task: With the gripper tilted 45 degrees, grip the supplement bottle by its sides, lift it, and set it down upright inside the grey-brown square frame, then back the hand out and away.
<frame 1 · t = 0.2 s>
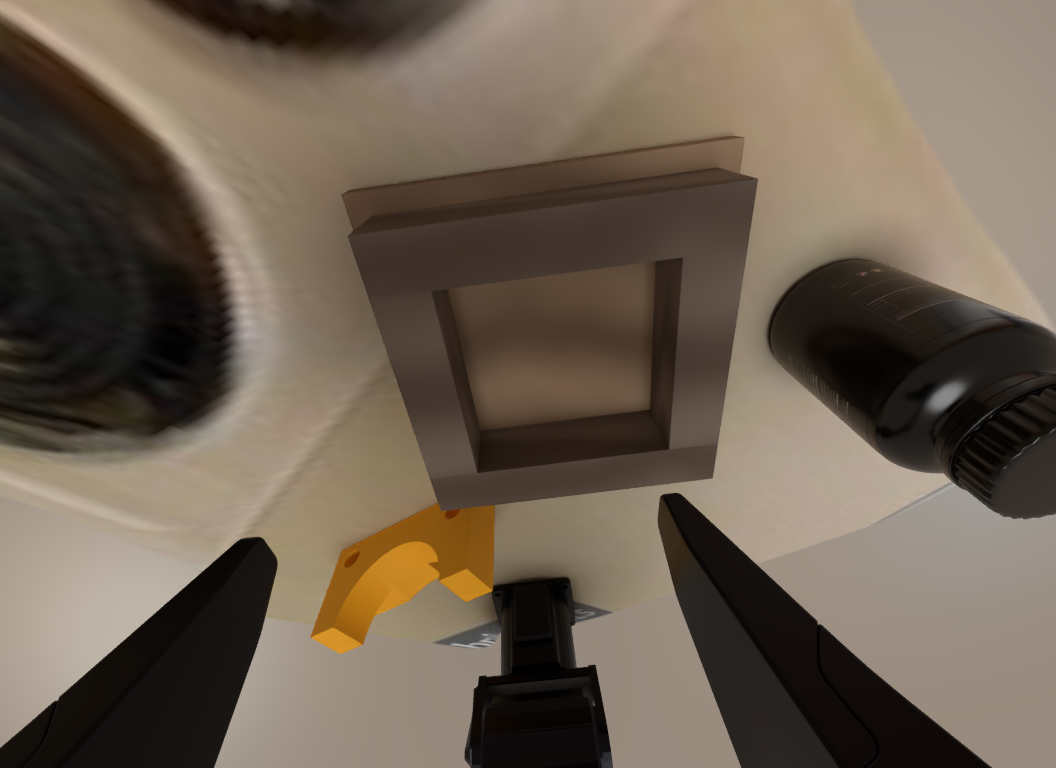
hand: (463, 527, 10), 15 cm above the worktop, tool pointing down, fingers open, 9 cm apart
orange notched part: (424, 531, 32), on the worktop
grey-brown square frame: (555, 336, 24), on the worktop
supplement bottle: (826, 315, 24), on the worktop
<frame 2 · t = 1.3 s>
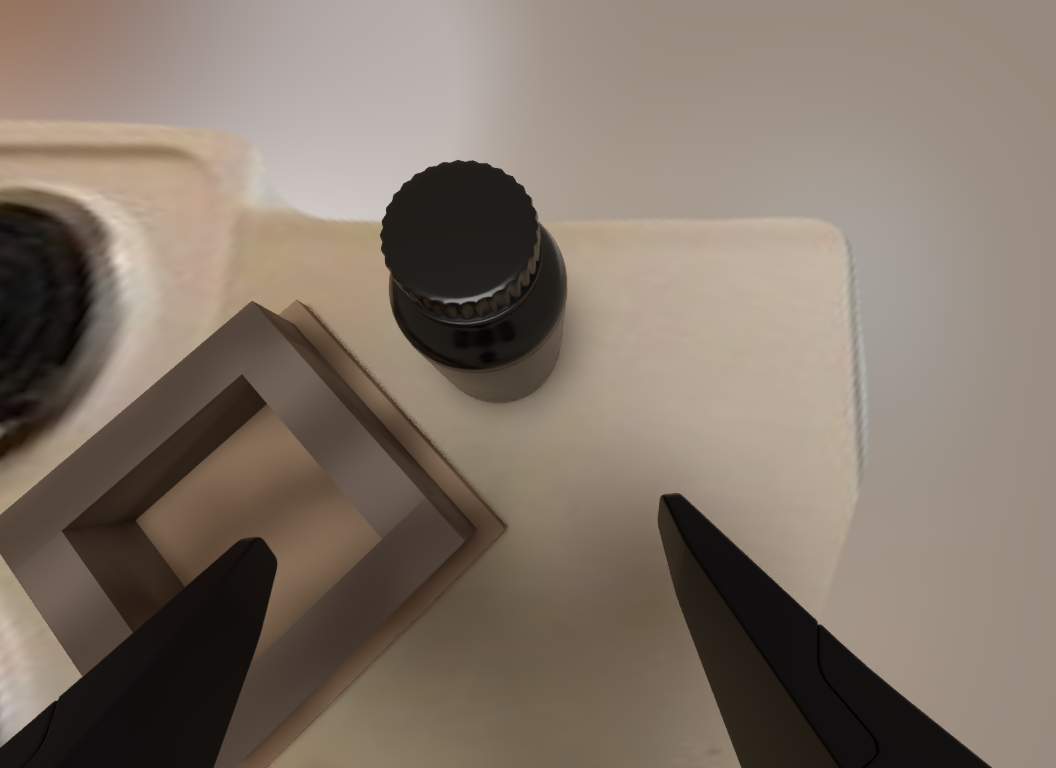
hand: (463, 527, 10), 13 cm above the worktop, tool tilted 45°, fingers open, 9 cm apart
grey-brown square frame: (281, 521, 23), on the worktop
supplement bottle: (499, 344, 25), on the worktop
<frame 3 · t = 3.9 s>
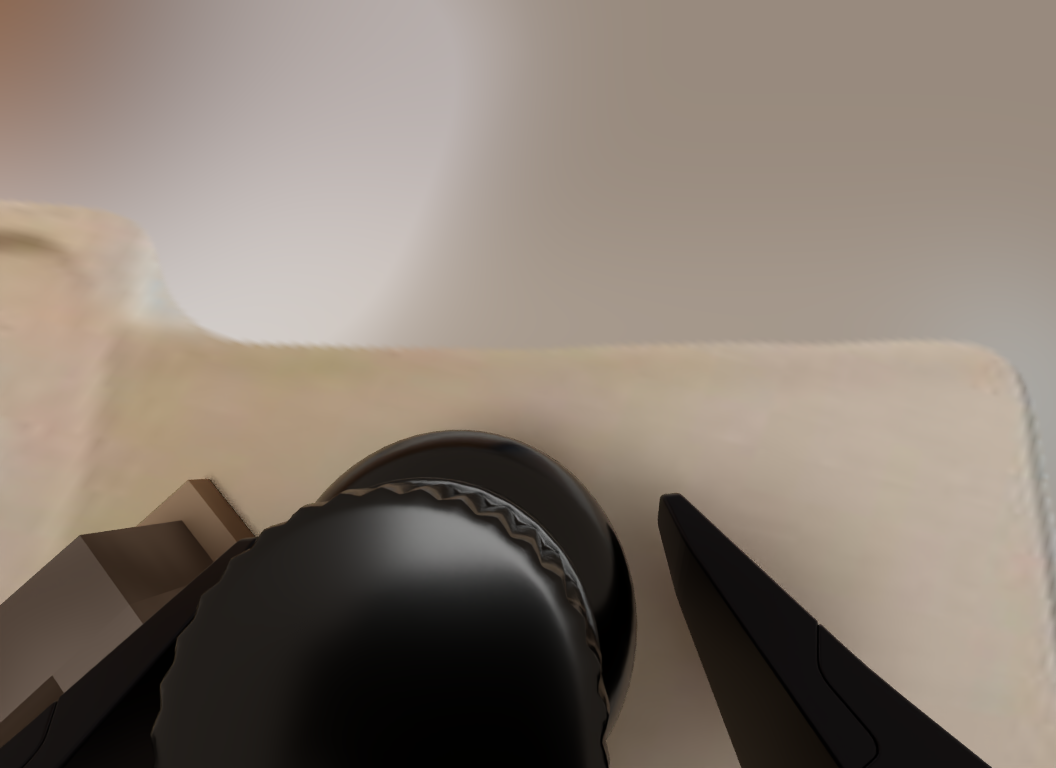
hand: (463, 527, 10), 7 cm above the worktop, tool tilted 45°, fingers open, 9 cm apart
supplement bottle: (498, 540, 16), on the worktop
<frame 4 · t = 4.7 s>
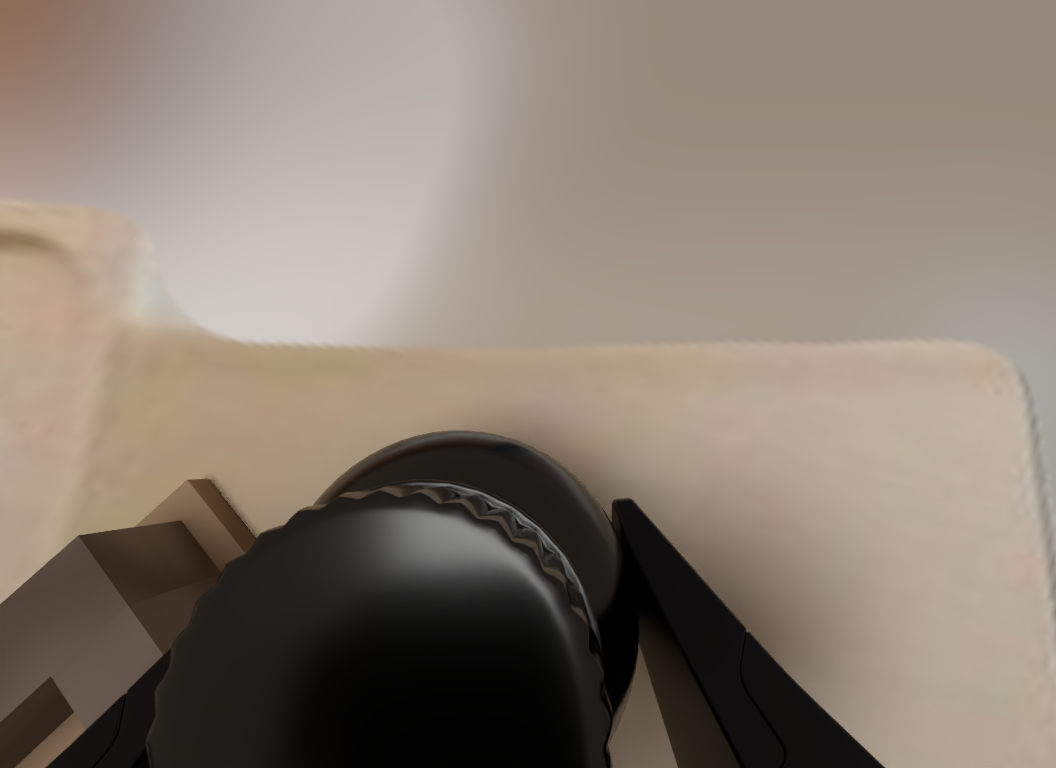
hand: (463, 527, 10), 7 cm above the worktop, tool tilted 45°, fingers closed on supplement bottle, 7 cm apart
supplement bottle: (498, 540, 16), on the worktop, touching gripper
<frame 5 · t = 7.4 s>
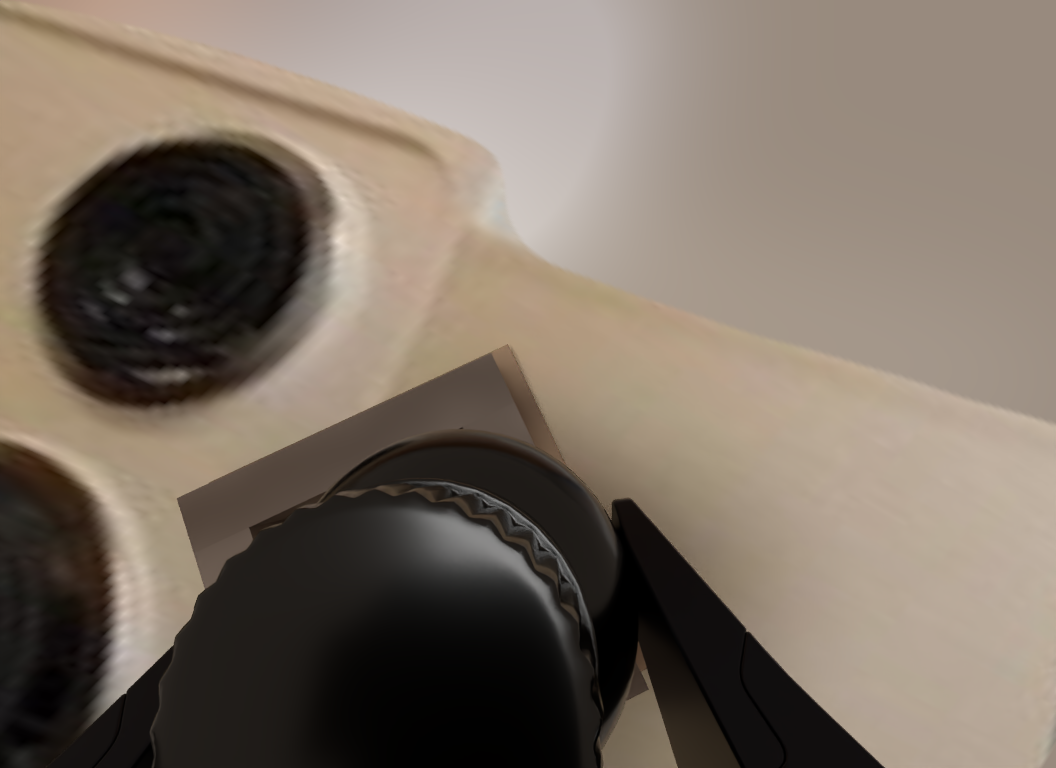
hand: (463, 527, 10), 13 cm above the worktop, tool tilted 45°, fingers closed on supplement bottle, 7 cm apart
grey-brown square frame: (428, 562, 22), on the worktop
supplement bottle: (504, 537, 16), point 6 cm above the worktop, touching gripper
when the fingers open (8 cm above the worktop, at t = 10.1 s): supplement bottle stays where it is, resting on grey-brown square frame.
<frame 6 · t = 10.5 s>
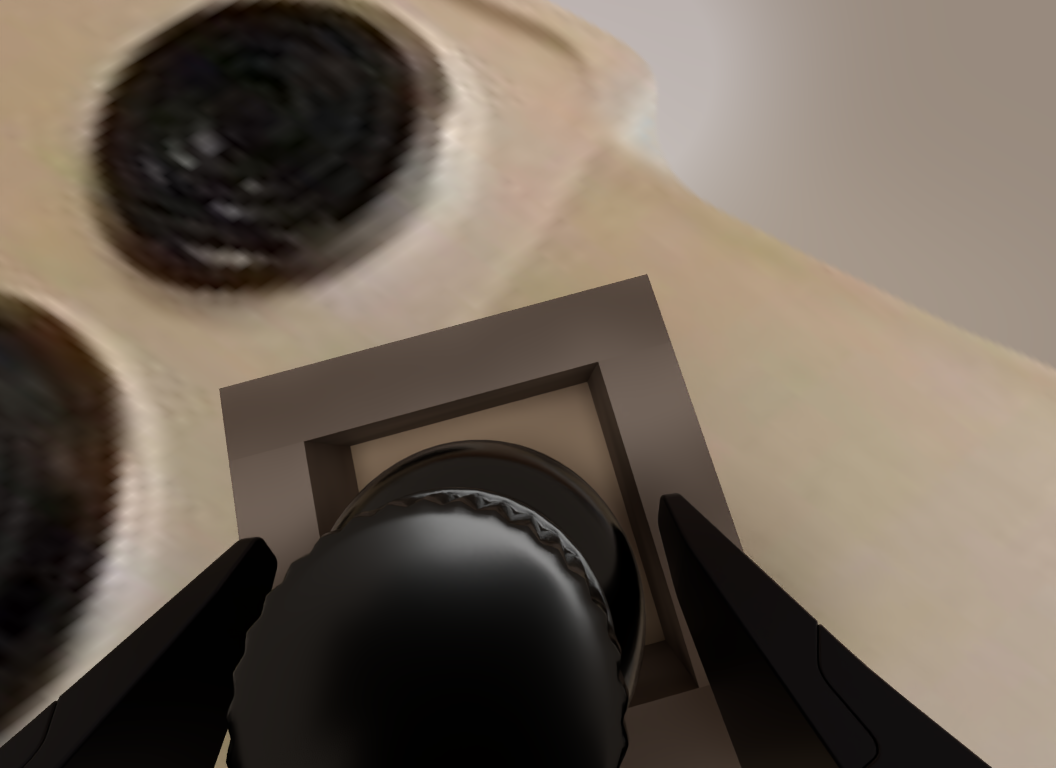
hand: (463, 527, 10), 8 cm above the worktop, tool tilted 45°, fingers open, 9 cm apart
grey-brown square frame: (502, 534, 18), on the worktop
supplement bottle: (507, 540, 17), point 1 cm above the worktop, touching grey-brown square frame
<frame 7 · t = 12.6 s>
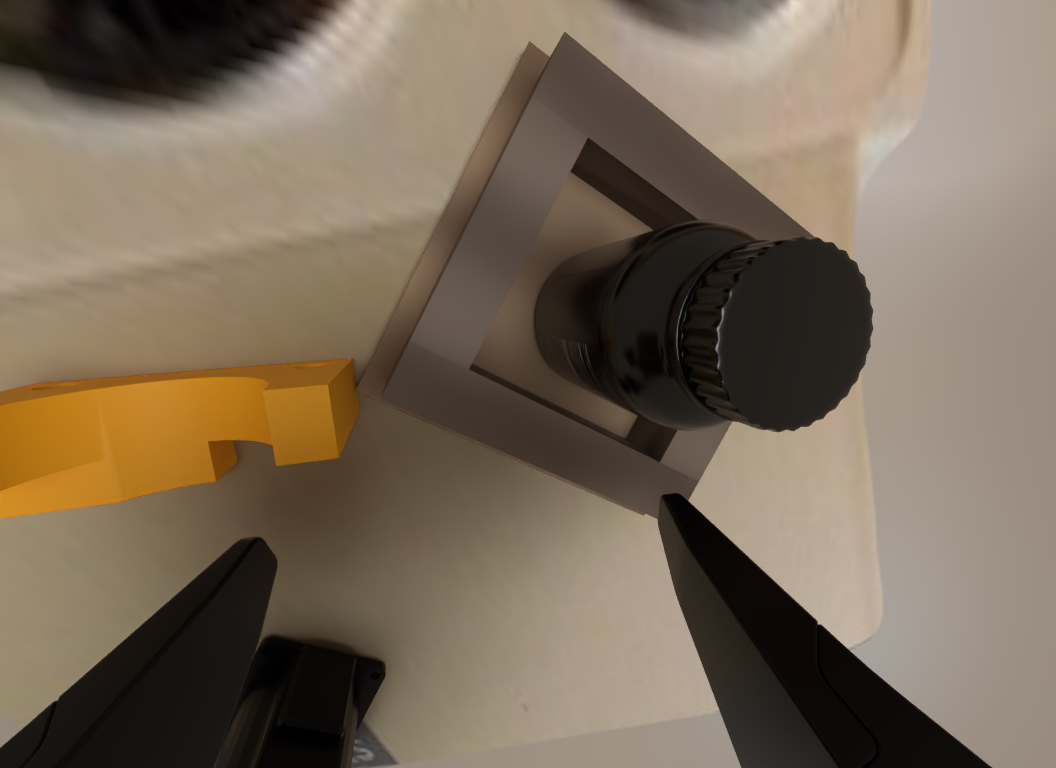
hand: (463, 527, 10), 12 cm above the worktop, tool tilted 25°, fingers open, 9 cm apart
orange notched part: (220, 415, 20), on the worktop
grey-brown square frame: (587, 312, 23), on the worktop
supplement bottle: (595, 318, 22), point 1 cm above the worktop, touching grey-brown square frame
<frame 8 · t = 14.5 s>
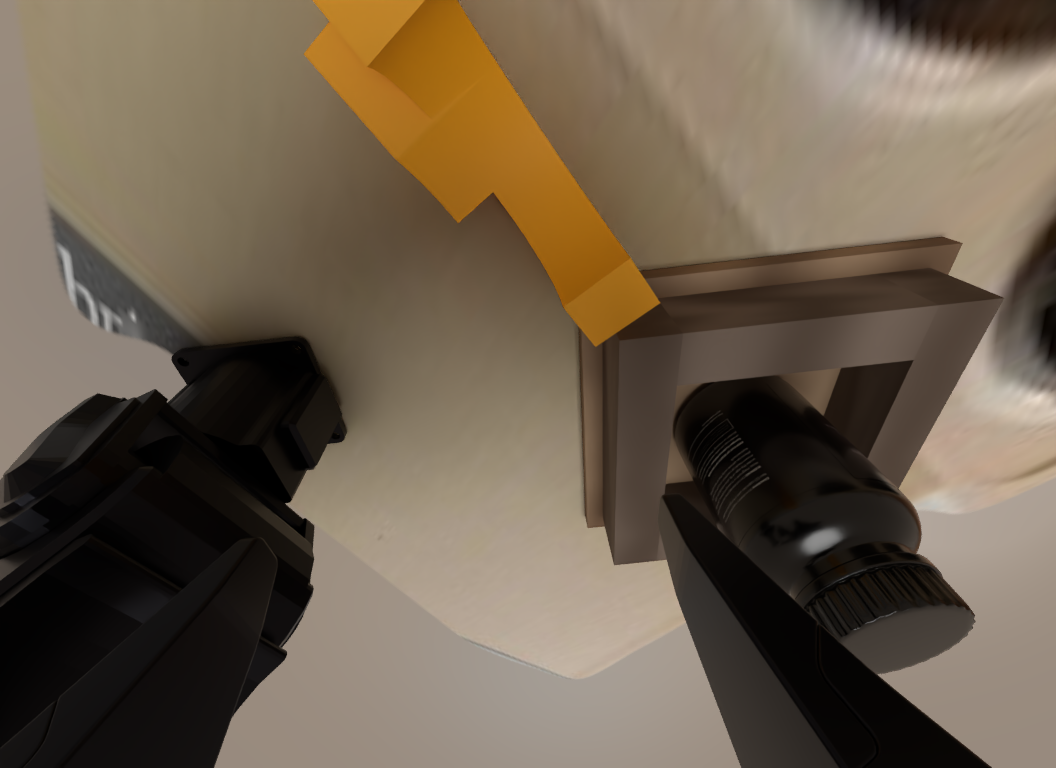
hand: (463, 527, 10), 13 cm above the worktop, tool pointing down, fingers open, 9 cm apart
orange notched part: (494, 163, 18), on the worktop
grey-brown square frame: (729, 403, 25), on the worktop
supplement bottle: (731, 416, 24), point 1 cm above the worktop, touching grey-brown square frame
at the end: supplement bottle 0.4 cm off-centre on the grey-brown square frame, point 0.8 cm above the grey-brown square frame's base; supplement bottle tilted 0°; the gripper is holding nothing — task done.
